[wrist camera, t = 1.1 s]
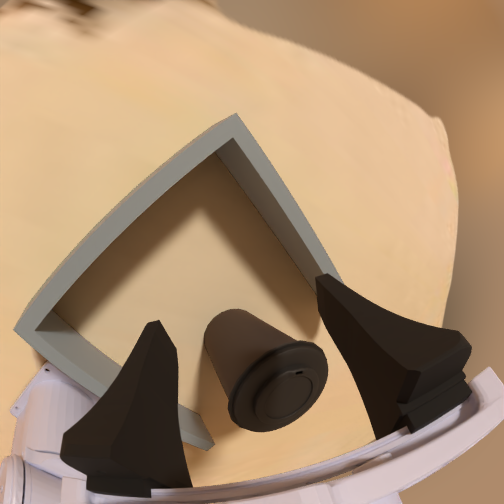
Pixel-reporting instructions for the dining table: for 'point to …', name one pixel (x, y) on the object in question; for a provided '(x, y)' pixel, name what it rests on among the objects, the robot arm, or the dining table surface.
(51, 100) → the dining table surface
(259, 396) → the coffee cup
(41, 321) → the gray rectangular arch
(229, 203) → the dining table surface
